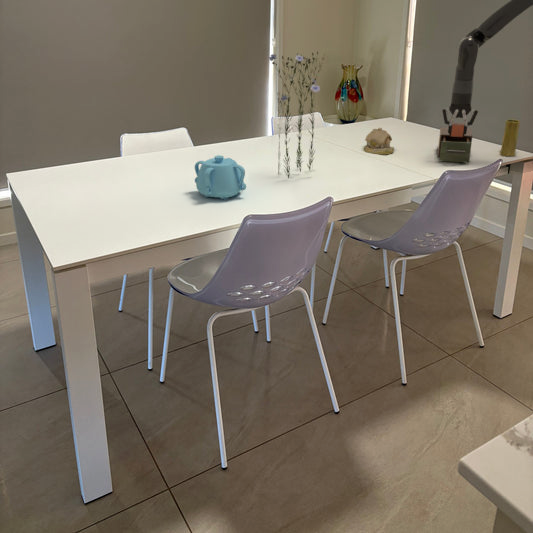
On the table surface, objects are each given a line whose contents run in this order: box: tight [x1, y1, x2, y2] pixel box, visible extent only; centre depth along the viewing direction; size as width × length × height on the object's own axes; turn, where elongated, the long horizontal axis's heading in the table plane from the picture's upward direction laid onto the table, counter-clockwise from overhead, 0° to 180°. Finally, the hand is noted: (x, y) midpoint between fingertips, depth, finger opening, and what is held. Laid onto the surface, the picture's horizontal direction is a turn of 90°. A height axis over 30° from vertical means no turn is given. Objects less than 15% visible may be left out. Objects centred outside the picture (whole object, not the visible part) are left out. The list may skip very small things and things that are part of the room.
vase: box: [499, 118, 521, 157], centre depth 246 cm, size 6×6×14 cm
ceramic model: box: [363, 127, 395, 155], centre depth 255 cm, size 14×11×10 cm
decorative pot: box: [194, 154, 247, 200], centre depth 202 cm, size 16×16×14 cm
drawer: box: [439, 137, 472, 163], centre depth 240 cm, size 18×11×8 cm, turn 165°
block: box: [451, 122, 464, 137], centre depth 237 cm, size 4×4×4 cm
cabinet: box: [437, 126, 473, 158], centre depth 250 cm, size 15×13×10 cm
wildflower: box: [268, 51, 326, 179], centre depth 215 cm, size 22×23×45 cm
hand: (456, 134), depth 237 cm, fingers closed on block, 4 cm apart
